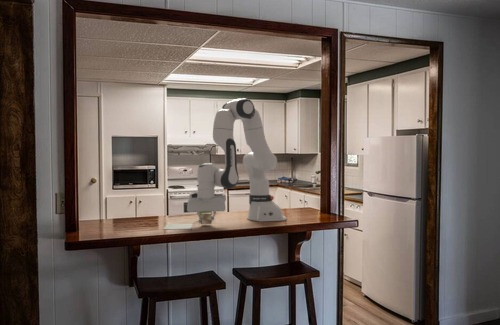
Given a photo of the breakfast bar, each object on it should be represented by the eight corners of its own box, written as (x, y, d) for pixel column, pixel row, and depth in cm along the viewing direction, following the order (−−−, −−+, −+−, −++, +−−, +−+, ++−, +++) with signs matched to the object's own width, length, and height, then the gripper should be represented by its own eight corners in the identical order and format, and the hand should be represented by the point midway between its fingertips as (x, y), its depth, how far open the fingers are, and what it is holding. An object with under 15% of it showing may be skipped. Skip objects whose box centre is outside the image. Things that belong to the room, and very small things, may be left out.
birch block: (211, 222, 228) (211, 212, 227) (211, 223, 223) (211, 214, 222) (202, 222, 227) (202, 212, 227) (201, 224, 222) (201, 214, 222)
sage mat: (193, 224, 230) (193, 223, 230) (190, 229, 216) (190, 228, 216) (167, 224, 229) (167, 224, 229) (163, 229, 215) (163, 229, 215)
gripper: (225, 192, 228) (226, 218, 229) (187, 193, 227) (188, 219, 228) (225, 194, 222) (226, 220, 222) (186, 195, 221) (187, 221, 221)
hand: (206, 219), depth 225 cm, fingers closed on birch block, 5 cm apart
